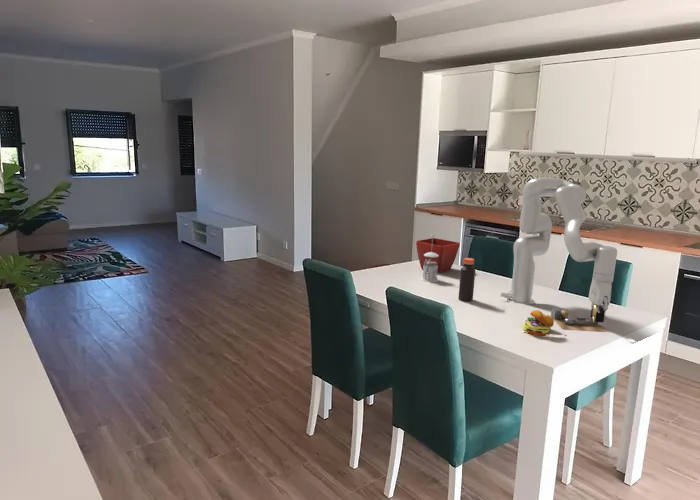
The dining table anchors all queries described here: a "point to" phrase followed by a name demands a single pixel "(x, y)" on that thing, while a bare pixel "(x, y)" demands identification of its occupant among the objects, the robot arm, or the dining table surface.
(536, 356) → the dining table surface
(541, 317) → the cheeseburger
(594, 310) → the lever
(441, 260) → the plant pot
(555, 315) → the anvil
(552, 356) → the dining table surface
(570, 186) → the robot arm
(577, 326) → the board
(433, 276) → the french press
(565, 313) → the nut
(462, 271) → the bottle
